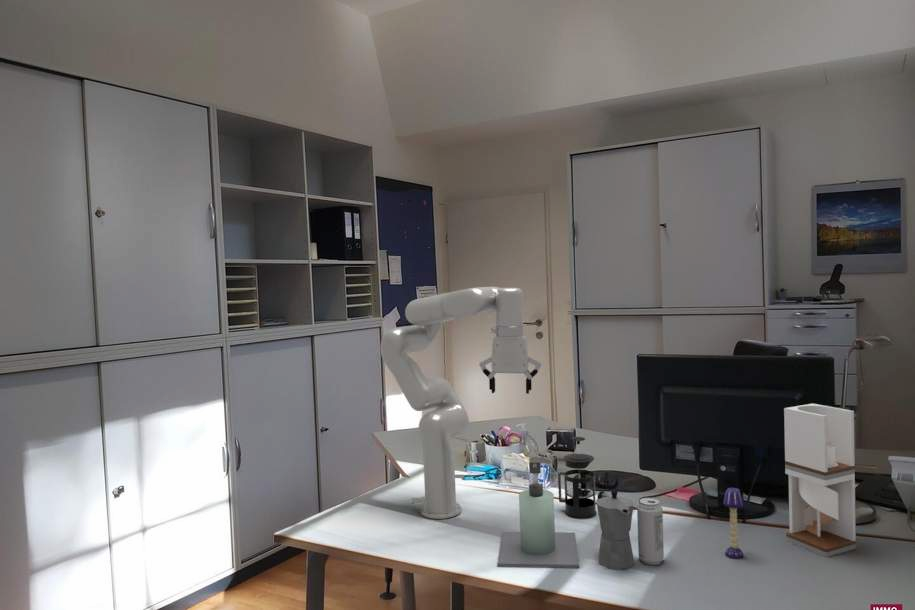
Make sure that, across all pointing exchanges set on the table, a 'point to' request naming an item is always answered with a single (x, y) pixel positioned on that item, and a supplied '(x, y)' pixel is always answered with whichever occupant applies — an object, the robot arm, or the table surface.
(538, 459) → the pump head
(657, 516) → the energy drink can
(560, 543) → the dispenser bottle
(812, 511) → the white architectural model
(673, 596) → the table surface
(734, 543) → the toy lamp
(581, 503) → the french press
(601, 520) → the coffeepot
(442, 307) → the robot arm
